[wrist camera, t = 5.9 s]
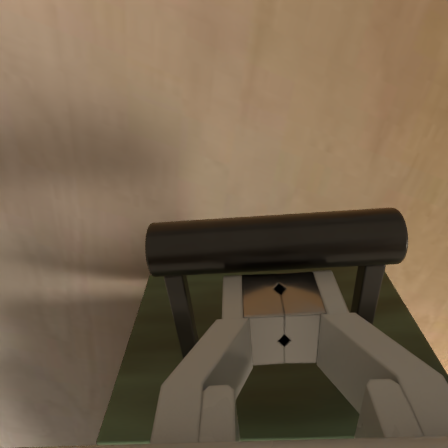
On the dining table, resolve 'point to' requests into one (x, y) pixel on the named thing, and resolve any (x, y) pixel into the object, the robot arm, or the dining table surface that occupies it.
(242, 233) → the drawer
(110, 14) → the dining table surface
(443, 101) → the dining table surface
